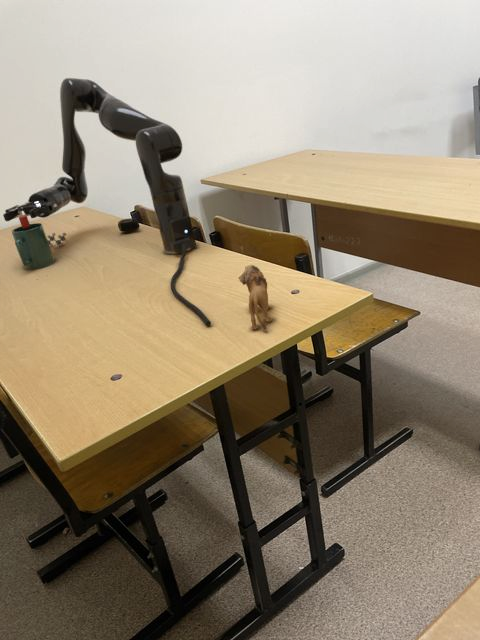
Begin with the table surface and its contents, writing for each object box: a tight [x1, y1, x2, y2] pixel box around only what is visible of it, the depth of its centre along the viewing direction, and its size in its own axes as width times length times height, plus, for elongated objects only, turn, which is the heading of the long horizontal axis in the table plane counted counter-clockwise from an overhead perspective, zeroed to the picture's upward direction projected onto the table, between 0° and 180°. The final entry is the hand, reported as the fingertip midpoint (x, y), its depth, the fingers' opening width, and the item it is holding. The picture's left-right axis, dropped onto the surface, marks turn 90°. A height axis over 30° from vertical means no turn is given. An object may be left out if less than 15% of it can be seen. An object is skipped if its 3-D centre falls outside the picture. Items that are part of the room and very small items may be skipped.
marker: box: [18, 216, 31, 231], centre depth 158 cm, size 2×2×14 cm
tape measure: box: [117, 217, 140, 234], centre depth 180 cm, size 7×7×4 cm
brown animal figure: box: [238, 264, 273, 331], centre depth 103 cm, size 15×5×9 cm, turn 10°
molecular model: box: [46, 232, 70, 249], centre depth 176 cm, size 14×4×5 cm, turn 78°
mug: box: [10, 222, 55, 270], centre depth 157 cm, size 12×9×12 cm
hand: (18, 216), depth 153 cm, fingers open, 8 cm apart
